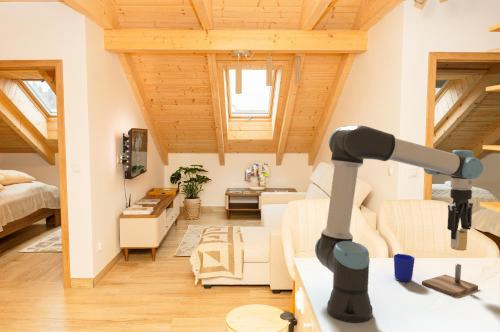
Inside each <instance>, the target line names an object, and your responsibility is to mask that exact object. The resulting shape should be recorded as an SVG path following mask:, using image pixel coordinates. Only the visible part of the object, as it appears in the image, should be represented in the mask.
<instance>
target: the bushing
mask: <svg viewBox="0 0 500 332" xmlns="http://www.w3.org/2000/svg"><path fill="white" fill-rule="evenodd" d="M458 231H459V242H458V248H456V247H452V246H451V245H450V249H452V250H455V251H462V252H463V251H467V248H468V247H467V246H468V231H467V232H466V231H461V230H460V229H458Z"/></svg>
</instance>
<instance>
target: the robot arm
mask: <svg viewBox="0 0 500 332" xmlns="http://www.w3.org/2000/svg"><path fill="white" fill-rule="evenodd" d="M328 146H329V151H330V153H331V158H330V162H331V163H332V164H333V165H334V167H333V175H332V182H331V190H330V191H331V192H330V197H329V204H328V205H329V206H328V211H327V212H328V213H327V219H326V220H327V221H326V227H325V228H324V229H322V231H321V234H320V238H319V239H317V241H316V243H315V246H314V253H315V256H316V258H317V260H318V261H319V263H320V264H321V265H322V266H323V267H325V268H327V269H328V270H329V271H330V272H331V273H332V274H333V277H332V280H333V281H332V291H331V293H330V296H329V299H328V301H327V304H326V305H327V309H326V310H327V313H328V315H330V316H331V317H333V318H334V319H336V320H339V321H343V322H347V323H363V322H367V321H370V320H371V319H372V317H373V305H372V304H371V299H370V296H369V274H370V272H369V271H370V269H369V268H370V252H369V250H368V248H367V247H366V246H365V245H363V244H361V243H360V242H359V243H357V242H355V241H353V239H354V238H353V237H354V236H353V235H352V234H351V232H350V230H351V229H350V228H351V221H352V215H353V207H354V200H355V199H354V198H355V193H356V185H357V178H358V173H359V172H358V171H359V168H361V167H362V166H363V165H364V160H376V161H382V162H388V161H394V162H397V163H398V162H399V163H402V164H406V165H410V166H414V167H418V168H423V171H424V173H426V174H428V175H432V176H436V175H437V176H438V175H439V176H448V177H449V176H450V194H449V197H450V199H452V200H453V201H452V204H448V205H447V210H448V212H447V228H446V229H447V230H448V231H450V247H451V246H452V247H456V248H458V242H459V231H458V230H461V231H466V232H467V233H468V232H469V231H468V230H471V229H472V228H471V227H472V222H473V221H472V220H473V219H472V216H473V206H474V203H472V202H469V200H472V198H473V191H472V189H473V184H474V182H473V180H474V179H477V178H479V177H480V176H481V175H482V174H483V171H484V164H483V162H482V160H481V159H479V158H478V157H474V151H472V150H469V149H467V150H465V149H456V150H455V149H453V150H452V152H448V151H446V150H440V149H438V148H437V149H436V148H434V147H431V146H426V145H422V144H418V143H414V142H411V141H407V140H402V139H399V138H396V136H395V135H394V134H393V133H388V132H385V131H382V130H379V129H376V128H373V127H370V126H366V125H346V126H342V127H338V128H337V129H335V130H334V131H333V132H332V134H331V135H330V137H329V141H328ZM459 225H460V226H461V227H460V228H459Z"/></svg>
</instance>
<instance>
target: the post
mask: <svg viewBox="0 0 500 332" xmlns="http://www.w3.org/2000/svg"><path fill="white" fill-rule="evenodd" d="M454 270H455V272H454V278H455V282H454V284H455V285H461V283H460V280H461V276H462V275H461V273H462V264H459V263H456V264H455V269H454Z"/></svg>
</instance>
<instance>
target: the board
mask: <svg viewBox="0 0 500 332" xmlns="http://www.w3.org/2000/svg"><path fill="white" fill-rule="evenodd" d="M454 282H455V276H454V277H453V276H451V275H447V274H442V275H438V276H436V277H435V276H434V277H432V278H428V279H425V280H421V286H425V287H427V288H430V289H432V290H435V291H437V292H441V293H443V294H446V295H447V296H451V297H454V298H456V297H458V296H462V295H465V294H467V293H471V292H474V291H476V290H478V289H479V285H477V284H475V283H472V282H469V281H465V280H462V279H460V283H461V285H455V284H454Z"/></svg>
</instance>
